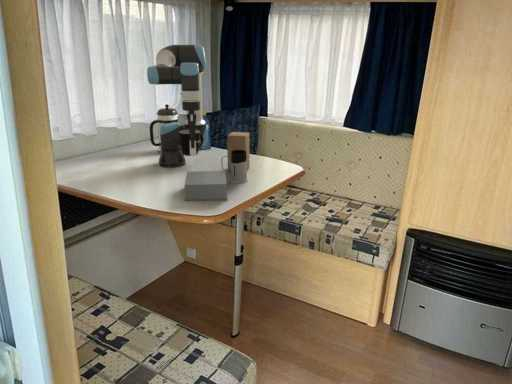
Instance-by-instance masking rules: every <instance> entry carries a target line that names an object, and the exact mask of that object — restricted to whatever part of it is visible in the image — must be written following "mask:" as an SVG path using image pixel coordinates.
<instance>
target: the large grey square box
mask: <svg viewBox="0 0 512 384" xmlns="http://www.w3.org/2000/svg"><path fill="white" fill-rule="evenodd" d="M225 171H226V170H225ZM225 171H224V170H207V171H205V170H204V171H202V170H201V171H200V170H199V171H198V170H197V171H186V175H185V181H184V202H185V201H195V202H220V201H222V202H223V200H227V201H228V192H227V190H228V186H227V176H226V172H225Z"/></svg>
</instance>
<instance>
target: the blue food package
mask: <svg viewBox="0 0 512 384" xmlns="http://www.w3.org/2000/svg"><path fill="white" fill-rule="evenodd" d="M202 112H203V120H204V121H205V122H206V125H208V137H207V143H206V145H202V146H201V147H200V148H199V150H203V151H205V150H210V149H212V147H211V146H212V143H211V142H212V140H211V120H210V118H209V117H208V116H207V111H206V110H203V109H202Z"/></svg>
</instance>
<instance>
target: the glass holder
mask: <svg viewBox="0 0 512 384" xmlns="http://www.w3.org/2000/svg"><path fill="white" fill-rule="evenodd" d="M224 158H227V161H228V160H229V163H230V159H229V157H228V155H224V156H222V157H221V160H220V165H221V167H222V171H225V174H227V175H229V176H230V183H234V184H244V183H247V182H248V180H249V179H248V178H247V177H248V176H247V175H248V173H247V171H248V170H247V156H246V151H245V150H233V151H231V163H230V164H231V172H230V173H229V172H228V171H227V170H226V169H225V168H224V164H223V159H224Z"/></svg>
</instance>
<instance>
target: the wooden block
mask: <svg viewBox="0 0 512 384" xmlns="http://www.w3.org/2000/svg"><path fill="white" fill-rule="evenodd" d="M226 137H227V139H226V140H227V144H226V145H227V156H228V157H229V159H230V163H231V151H233V150H245V151H246V156H247V171H248V170H249V169H250V137H251V135H250V132H241V131H231V132H230V133H228V134H227V136H226ZM228 157H227V158H228ZM230 163H229V160H228V159H227V173H229V172H230V173H231V164H230Z"/></svg>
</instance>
